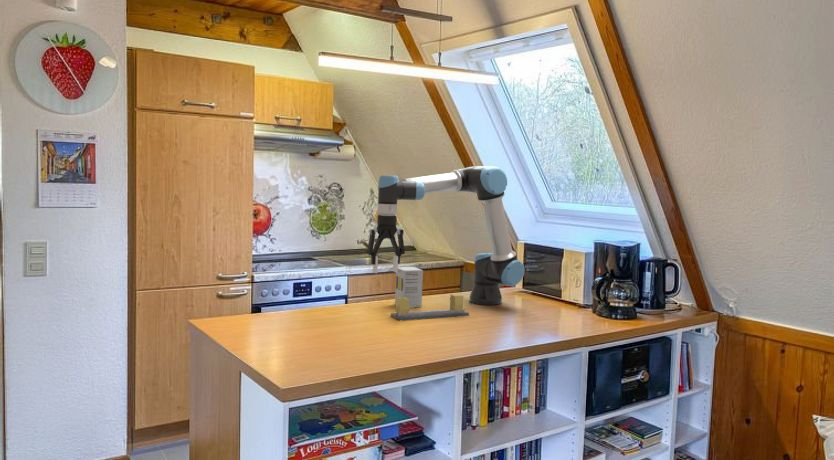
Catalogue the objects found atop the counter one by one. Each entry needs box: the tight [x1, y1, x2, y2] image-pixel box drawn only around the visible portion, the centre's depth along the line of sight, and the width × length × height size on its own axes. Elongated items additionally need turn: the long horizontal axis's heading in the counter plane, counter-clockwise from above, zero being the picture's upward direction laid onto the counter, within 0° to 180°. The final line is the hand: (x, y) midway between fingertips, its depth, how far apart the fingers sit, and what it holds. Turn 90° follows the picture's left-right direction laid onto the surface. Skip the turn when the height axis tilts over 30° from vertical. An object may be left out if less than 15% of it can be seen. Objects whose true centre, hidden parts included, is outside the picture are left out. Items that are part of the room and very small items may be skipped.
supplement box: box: [394, 266, 424, 309], centre depth 279 cm, size 10×9×17 cm
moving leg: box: [395, 297, 410, 314], centre depth 256 cm, size 7×4×7 cm, turn 26°
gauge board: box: [390, 293, 470, 322], centre depth 262 cm, size 8×32×8 cm, turn 116°
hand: (385, 272), depth 249 cm, fingers open, 8 cm apart
